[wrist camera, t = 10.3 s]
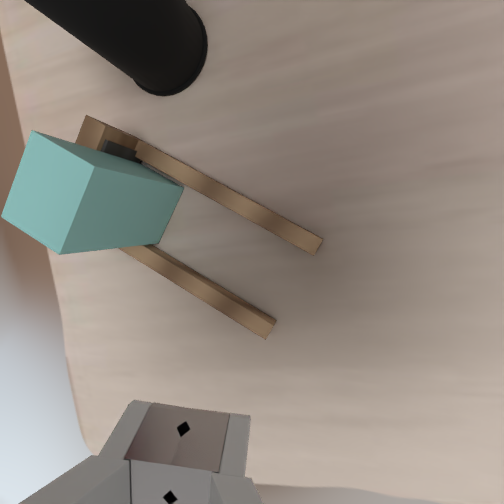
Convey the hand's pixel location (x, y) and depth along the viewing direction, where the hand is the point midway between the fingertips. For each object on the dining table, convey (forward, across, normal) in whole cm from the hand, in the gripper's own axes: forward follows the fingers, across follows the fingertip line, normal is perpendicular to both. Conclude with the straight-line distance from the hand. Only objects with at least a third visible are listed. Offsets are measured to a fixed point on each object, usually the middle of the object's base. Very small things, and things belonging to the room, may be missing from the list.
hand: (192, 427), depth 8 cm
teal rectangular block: (+24, +10, -1) cm, 27 cm away
